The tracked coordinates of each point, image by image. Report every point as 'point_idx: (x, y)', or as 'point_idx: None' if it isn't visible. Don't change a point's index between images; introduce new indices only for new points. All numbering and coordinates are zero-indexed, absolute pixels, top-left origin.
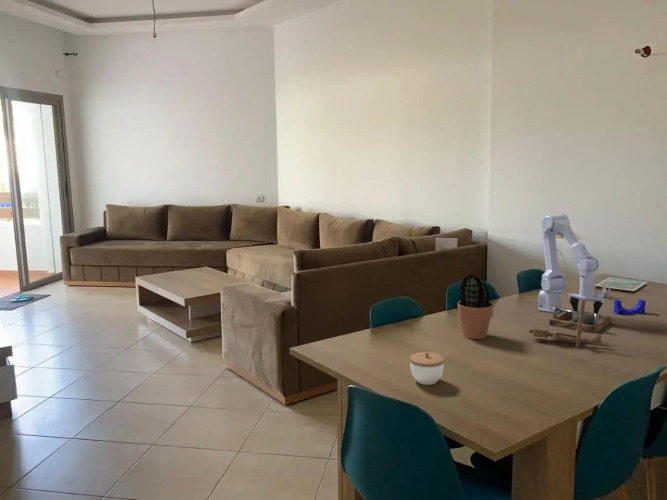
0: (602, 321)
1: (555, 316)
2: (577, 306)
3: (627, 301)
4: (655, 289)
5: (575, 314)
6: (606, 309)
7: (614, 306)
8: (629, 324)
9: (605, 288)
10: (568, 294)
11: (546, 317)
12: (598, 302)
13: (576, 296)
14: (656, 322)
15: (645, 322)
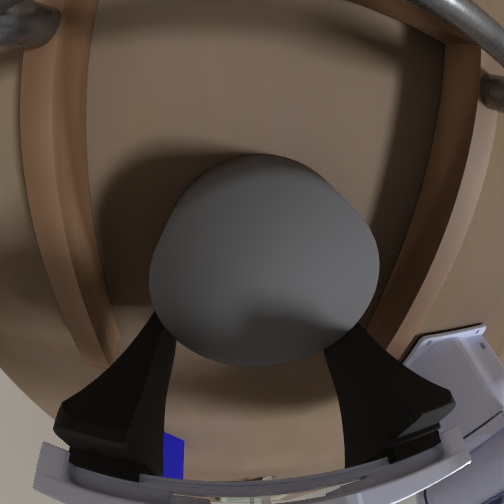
0: (34, 198)
1: (497, 76)
2: (345, 397)
3: (201, 478)
4: (194, 496)
5: (349, 231)
6: (218, 448)
7: (181, 460)
8: (29, 333)
9: (261, 499)
10: (469, 457)
11: (486, 227)
12: (96, 461)
13: (409, 484)
14: (19, 382)
15: (30, 375)
